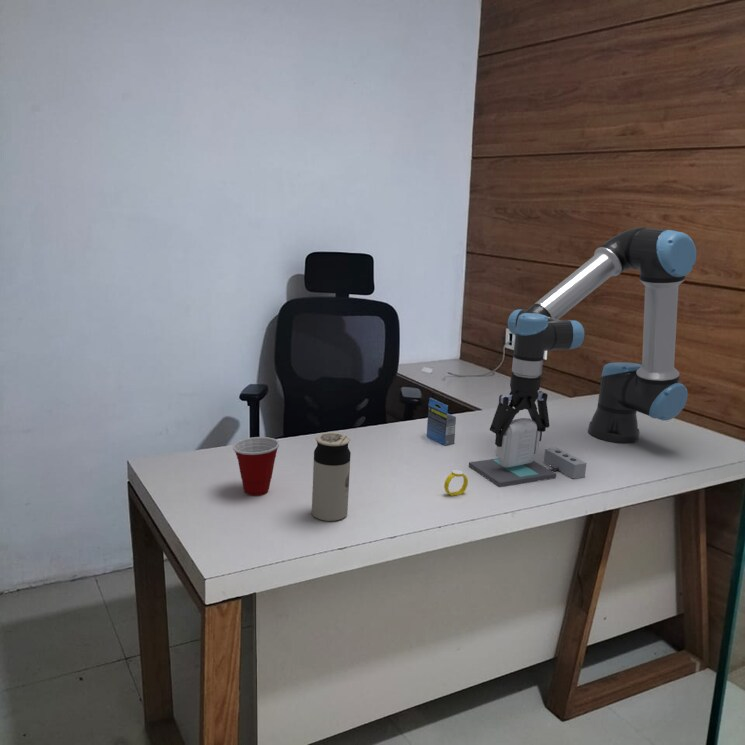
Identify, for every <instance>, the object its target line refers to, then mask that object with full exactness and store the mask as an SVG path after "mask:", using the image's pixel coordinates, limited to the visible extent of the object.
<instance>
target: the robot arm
mask: <svg viewBox="0 0 745 745" xmlns="http://www.w3.org/2000/svg"><path fill="white" fill-rule="evenodd" d="M696 260H697V248H696V244H695V243H694V241H693V239H692V238H691V237H690V235H688V234H687V233H685V232H682V231H676V230H673V229H665V228H664V229H663V228H662V229H661V228H650V227H649V228H647V227H634V228H633V227H632V228H630V229H627V230H625V231H622V232H621V233H619V234H616V235H615V236H613V237H611V238H610V239H608V240H607V241H605V242H604V243H603V244H601V245H599V247H598V248H596V249H595V251H594V253H593V255H592V257H590V258H589V259H588V260H587V261H586V262H584V263H583V264H582V265H581V266H580V267H579V268H576V270H574V271H573V272H572V273H571V274H569V276H567V277H566V278H564V280H562V281H561V282H560V283H558V284H557V285H556V286H555V287H553V288H552V289H551V290H549V291H548V292H547V293H546V294H545V295H544V296H542V297H541V298H539V300H537V301H536V302H535V303H533V304H532V305H531V306H530V307H529V308H527V309H520V308H518V309H516V310H513V311H512V312H511V313H510V315H509V317H508V319H507V329H508V330H509V332H510V333H511V334H512V335H513V336H514V346H513V347H514V348H513V357H512V367H511V372H512V373H511V374H510V382H509V386H510V387H509V388H510V392H509V394H508V395H507V394H506V395H503V394H499V397H498V405H497V407H496V411H495V413H494V415H493V416H494V417H493V418H492V422H491V425H490V427H489V430H490V432H492V433H494V434H495V440H494V444H495V446H496V450H495V457H496V458H500V459H502V460H503V459H504V456H505V448H506V439H507V436H506V435H505V432H506V430H507V429H508V427H509V425H510V424H511V422H512V420H514V418H515V417H516V415H517V414H519V412H520V411H523V410H527V411H528V414H529V417H530V419H531V420H533V421H535V422H536V424H537V433H536V441H535V449H534V456H537V455H538V452H539V448H540V442H541V441H542V438H543V436H542V435H543V433H544V432H546V431H547V430H546V429H549V427H550V418H549V411H548V410H549V409H548V405H547V404H548V403H547V402H548V401H547V400H548V393H546V392H544V391H542V390H541V389H540V388H541V382H542V381H541V379H542V378H541V375H542V374H543V365H544V357H545V356H544V355H545V351H547V352H548V351H565V350H566V351H569V350H573V349H577V348H579V347H580V346H581V345H582V344H583V343H584V339H585V329H584V327H583V325H582V323H581V322H579V321H577V320H574V319H573V320H571V319H567V320H566V319H565V320H561V318H562V317H563V316H565V315H566V314H567V313H568V312H570V310H571V309H573V308H574V307H576V305H578V304H579V303H580V302H581V301H583V300H584V299H586V297H587V296H588V295H590V294H591V293H593V291H595V290H596V289H597V288H598V287H600V286H601V285H602V284H604V283H605V282H606V281H607V280H609V279H610V278H611V277H617V276H620V275H621V273H623V272H624V271H627V270H637V271H639V282H641V283H642V284H643V285H644V306H643V308H644V310H643V331H642V332H643V335H642V337H643V338H642V358H641V364H640V363H636V362H609V363H606V364H604V365H603V367H602V368H603V369H602V373H601V376H600V383H599V392H598V400H597V405H596V406H597V407H596V410H595V412H594V414H593V416H592V417H591V418H592V419H591V421H590V422H589V423H588V429H587V433H589V435H591V436H593V437H595V438H597V439H600V440H603V441H607V442H610V443H611V442H612V443H619V444H620V443H621V444H630V443H635V442H637V441H638V440H639V437H640V429H639V426H638V425H639V424H638V417H637V412H638V413H641V414H643V415H646V416H648V417H649V418H651V419H657V420H661V421H670V420H672V419H674V418H676V417H677V416H678V415H679V414H680V413H681V412H682V411H683V409H684V408H685V406H686V404H687V400H688V389H687V388H686V386H685V385H684V384H683V383H680V371H678V370H677V368H675V355H676V339H677V338H676V337H677V319H678V305H679V304H678V302H679V286H680V285H681V284H682V283H683V282H685V280H686V276H687V275H689V274H690V273H691V271H692V270H693V268H694V267H693V266H695V264H696ZM540 390H541V391H540ZM536 403H537V404H536Z"/></svg>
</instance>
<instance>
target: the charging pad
mask: <svg viewBox="0 0 745 745" xmlns="http://www.w3.org/2000/svg"><path fill="white" fill-rule="evenodd" d="M470 467H471V468H470ZM468 468H470V469H471V470H473V469H474V470H473V471H475V472H476V471H477V472H476V473H478V474H479V473H480V474H479V475H480V476H482V475H483V476H482V477H483V478H485V477H486V478H485V479H487V480H488V479H489V480H488V481H490V482H491V483H492V482H493V483H492V484H494V485H495V484H496V485H495V486H496V487H499V488H502V487H507V486H508V487H509V486H514V485H520V484H521V483H522V484H528V483H533V481H534V482H539V481H538V480H541V481H545V480H544V479H547V480H551V479H550V478H553V479H556V478H557V473H556V472H555V471H553V472H552V471H551V470H549V469H550V468H547V467H545V466H543V465H542V464H540V463H538V462H537V461H535V460H533V461H532V462H531V463H528V464H523V465H518V466H513V467H503V466H501V465H500V463H499V458H498V457H496V458H490V459H483V460H482V459H481V460H477V461H476V460H475V461H469V462H468ZM555 477H556V478H555ZM527 482H528V483H527ZM522 484H521V485H522Z"/></svg>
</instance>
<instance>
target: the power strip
mask: <svg viewBox="0 0 745 745" xmlns="http://www.w3.org/2000/svg"><path fill="white" fill-rule="evenodd" d="M544 462H545V463H547V464H549V465H551V466H552V467H554V468H552V467H551V466H550V467H551V468H548V469H549V470H551V471H553V472H559V471H561V472H563V473H564V474H563V473H562V474H563V475H565V474H566V475H568V476H569V477H568V476H567V477H568V478H570V477H571V479H572V478H577V479H581V478H580V477H583V478H585V477H586V470H587V462H585V461H583V460H581V459H580V458H578V457H575V455H572V454H571V453H568V452H566V451H564V450H562V449H560V448H559V447H550V448H545V449H544V456H543V463H544ZM545 463H544V464H545ZM547 464H546V465H547ZM549 465H548V466H549ZM557 470H559V471H557ZM561 472H560V473H561ZM566 475H565V476H566Z"/></svg>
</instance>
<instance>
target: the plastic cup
mask: <svg viewBox="0 0 745 745" xmlns="http://www.w3.org/2000/svg"><path fill="white" fill-rule="evenodd" d="M279 447H280V442H279V441H278V440H277V439H276V438H272V437H267V436H254V437H248V438H243V439H241V440H237V441H236V442H235V443H234V444H233V445H232V450H233V451H234V453H235V455H236V458H237V462H238V466H239V468H238V469H239V473H240V478H241V483H242V488H243V493H245V494H246V495H248V496H253V497H255V496H258V497H259V496H264V495H266V494H267V493H268V492H269V490H270V486H271V481H272V479H273V478H272V477H273V471H274V466H275V462H276V460H275V459H276V457H277V452H278V448H279Z"/></svg>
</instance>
